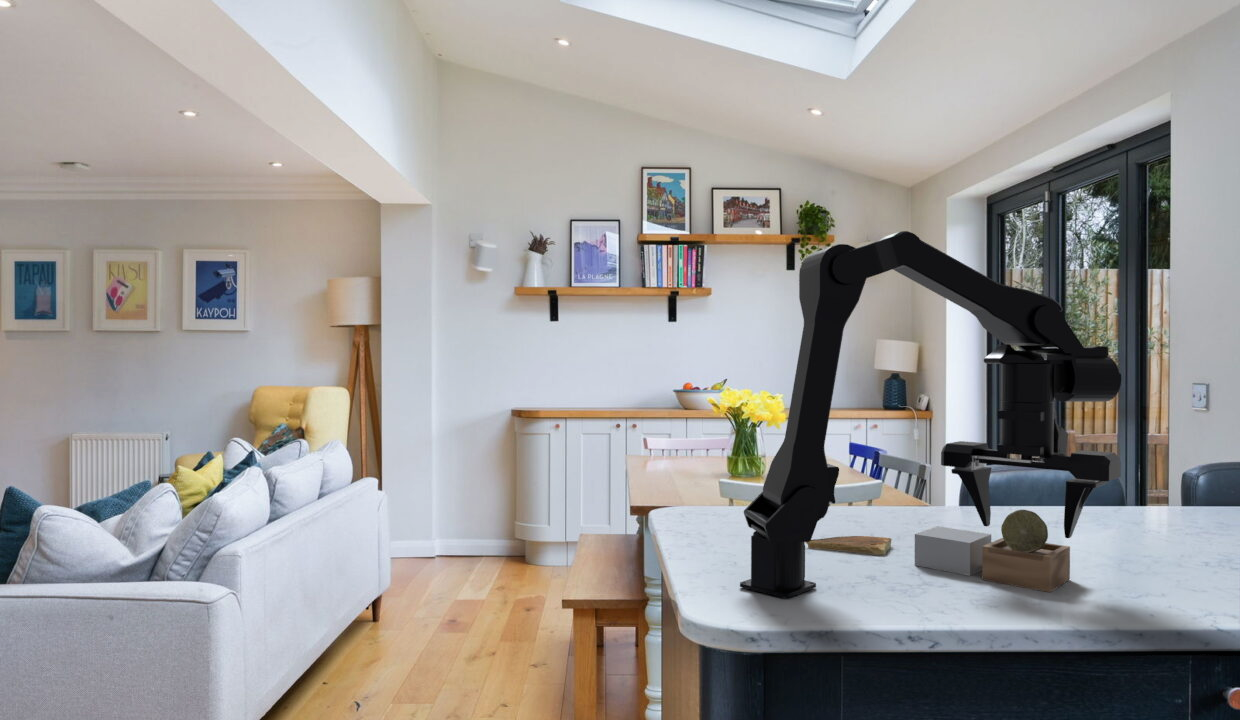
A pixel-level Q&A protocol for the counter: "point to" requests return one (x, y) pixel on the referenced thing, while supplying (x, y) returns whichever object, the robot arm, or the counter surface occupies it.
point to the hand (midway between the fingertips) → (1026, 531)
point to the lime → (1024, 531)
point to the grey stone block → (950, 549)
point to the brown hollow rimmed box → (1026, 566)
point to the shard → (854, 544)
